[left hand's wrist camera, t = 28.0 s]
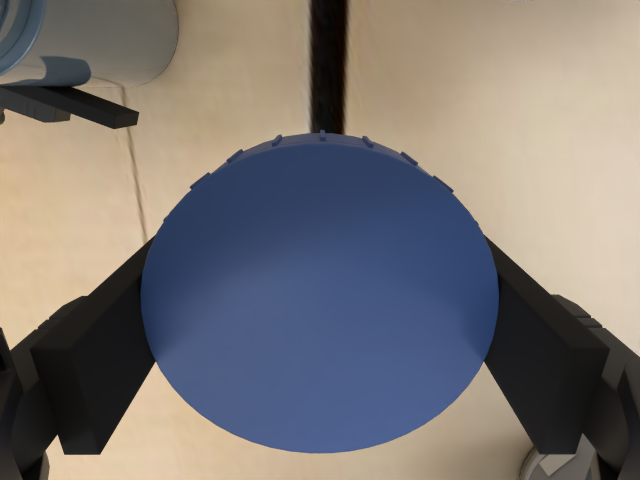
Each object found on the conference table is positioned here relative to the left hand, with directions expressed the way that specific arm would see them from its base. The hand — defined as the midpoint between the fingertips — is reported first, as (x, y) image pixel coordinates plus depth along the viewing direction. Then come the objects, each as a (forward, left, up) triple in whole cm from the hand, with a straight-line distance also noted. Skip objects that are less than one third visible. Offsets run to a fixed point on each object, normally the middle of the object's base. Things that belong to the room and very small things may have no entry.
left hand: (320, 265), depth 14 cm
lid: (0, 0, +3) cm, 3 cm away
